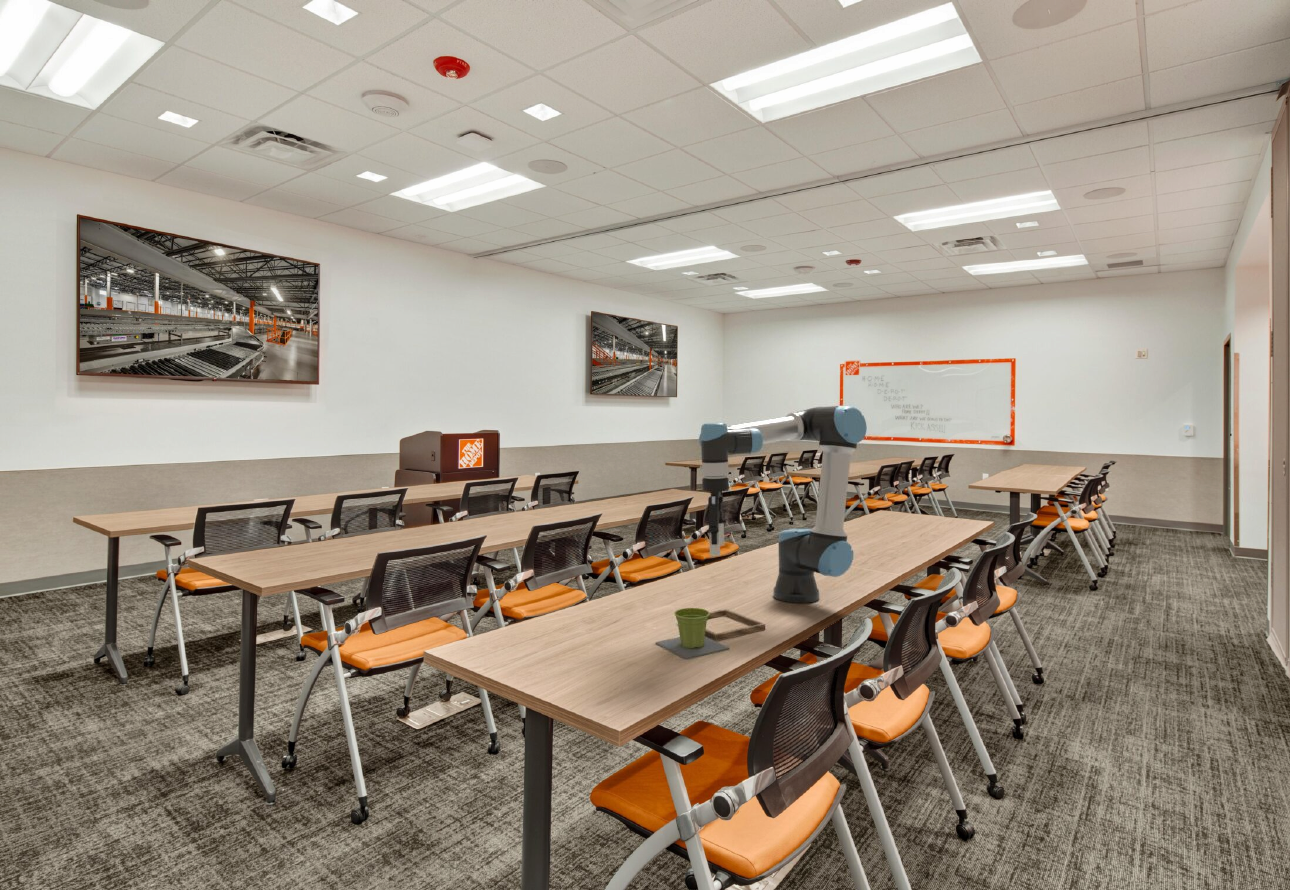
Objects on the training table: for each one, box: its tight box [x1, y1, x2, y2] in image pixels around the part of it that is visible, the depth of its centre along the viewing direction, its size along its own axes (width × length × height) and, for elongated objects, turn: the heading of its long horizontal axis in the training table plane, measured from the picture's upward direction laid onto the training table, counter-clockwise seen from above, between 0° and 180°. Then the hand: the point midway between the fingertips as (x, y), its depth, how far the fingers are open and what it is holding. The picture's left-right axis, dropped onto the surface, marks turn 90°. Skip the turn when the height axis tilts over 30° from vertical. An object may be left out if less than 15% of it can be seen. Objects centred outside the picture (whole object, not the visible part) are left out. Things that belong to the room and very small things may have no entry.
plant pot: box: [673, 607, 710, 648], centre depth 173 cm, size 9×9×9 cm
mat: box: [655, 636, 730, 661], centre depth 173 cm, size 14×14×1 cm
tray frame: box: [705, 608, 766, 642], centre depth 190 cm, size 18×18×2 cm
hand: (717, 550), depth 187 cm, fingers open, 13 cm apart
